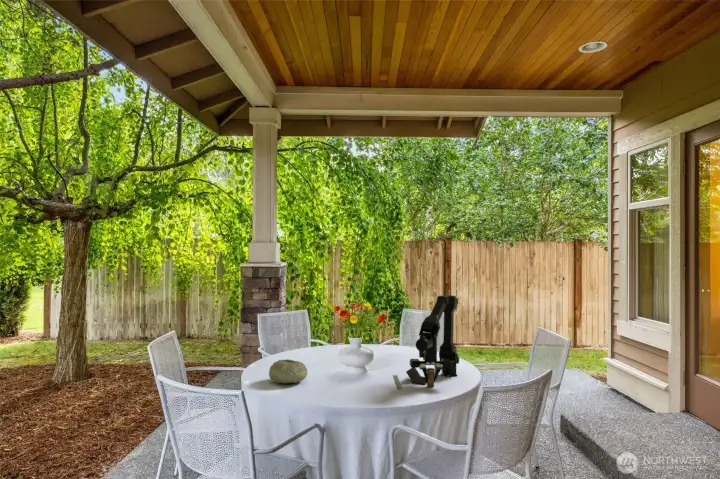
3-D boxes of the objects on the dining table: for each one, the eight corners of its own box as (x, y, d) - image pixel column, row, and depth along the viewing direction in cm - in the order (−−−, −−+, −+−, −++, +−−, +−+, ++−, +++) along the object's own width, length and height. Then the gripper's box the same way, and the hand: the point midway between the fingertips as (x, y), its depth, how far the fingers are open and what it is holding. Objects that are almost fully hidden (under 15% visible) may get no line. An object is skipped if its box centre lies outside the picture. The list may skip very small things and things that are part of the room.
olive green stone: (302, 375, 224) (302, 355, 225) (311, 385, 208) (311, 363, 208) (265, 379, 218) (266, 358, 218) (272, 389, 201) (272, 366, 202)
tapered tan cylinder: (433, 385, 209) (433, 368, 209) (434, 387, 205) (435, 369, 205) (426, 385, 209) (426, 368, 209) (427, 387, 205) (427, 369, 205)
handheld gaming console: (429, 382, 209) (416, 363, 212) (416, 391, 210) (404, 372, 213) (432, 379, 219) (420, 361, 223) (421, 387, 220) (409, 369, 224)
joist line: (397, 375, 225) (397, 375, 225) (402, 389, 203) (402, 388, 203) (393, 375, 225) (393, 375, 225) (397, 389, 203) (397, 388, 203)
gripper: (447, 344, 216) (447, 377, 215) (408, 344, 215) (408, 377, 215) (452, 349, 205) (452, 384, 204) (411, 349, 204) (411, 384, 204)
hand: (430, 382), depth 207 cm, fingers closed on tapered tan cylinder, 3 cm apart
